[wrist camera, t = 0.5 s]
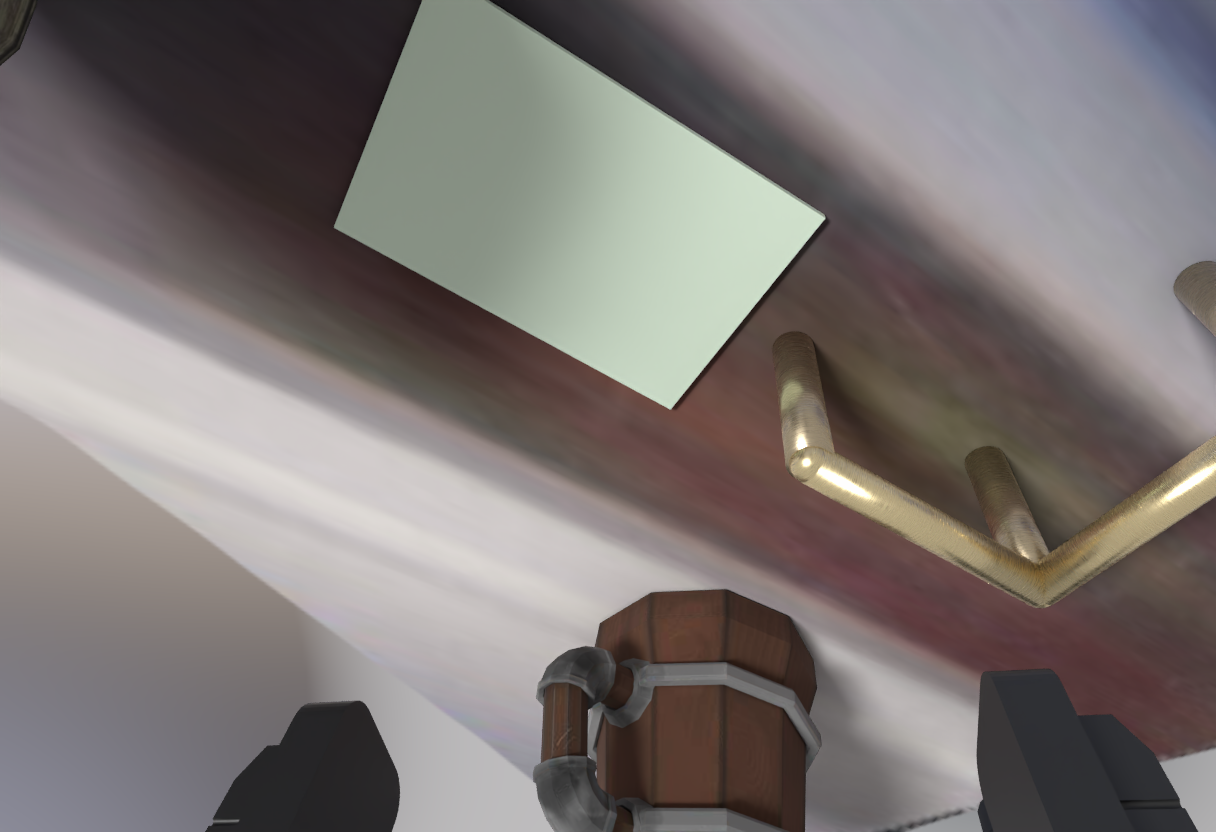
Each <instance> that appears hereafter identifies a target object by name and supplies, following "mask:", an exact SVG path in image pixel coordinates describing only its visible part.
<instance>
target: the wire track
mask: <svg viewBox="0 0 1216 832" xmlns="http://www.w3.org/2000/svg"><path fill="white" fill-rule="evenodd" d="M1174 293H1175V295H1176V296H1177V298H1178V299H1179V300H1180V301H1181V302H1182V303H1183V304H1184V305H1185V306H1186V307H1187V308H1188V309H1189V310H1190V311H1191V312H1192V313H1193V314H1194V315H1195V316H1196V317H1197V318H1198V319H1199V320H1200V321H1201V322H1202V323H1203V325H1204V326H1205V327H1206V328H1207V329H1208V330H1209V331H1210V332H1211V333H1212V334H1213V335H1214V336H1215V337H1216V262H1212V261H1204V262H1199V263H1196V264H1193V265H1191V266H1189V267H1188V268H1186V269H1185V270H1184V271H1183V272H1182V273H1181V274H1180V275H1179V276H1178V277H1177V279H1176V281H1175V283H1174ZM772 351H773V360H774V368H775V377H776V386H777V394H778V403H779V411H780V420H781V429H782V437H783V446H784V454H785V463H786V469H787V471H788V472H789V474H790V475H791V476H793V477H794V478H796V479H797V480H798V481H800V482H802V483H803V484H805V485H807V486H809V487H811V488H813V489H815V490H816V491H818V492H820V493H822V494H824V495H826V496H828V497H829V498H831V499H833V500H835V501H837V502H839V503H840V504H842V505H844V506H846V507H848V508H850V509H852V510H853V511H855V512H857V513H859V514H861V515H863V516H865V517H866V518H868V519H870V520H872V521H874V522H876V523H878V524H879V525H881V526H883V527H885V528H887V529H889V530H891V531H892V532H894V533H896V534H898V535H900V536H902V537H903V538H905V539H907V540H909V541H911V542H913V543H915V544H916V545H918V546H920V547H922V548H924V549H926V550H928V551H929V552H931V553H933V554H935V555H937V556H939V557H941V558H942V559H944V560H946V561H948V562H950V563H952V564H954V565H955V566H957V567H959V568H961V569H963V570H965V571H966V572H968V573H970V574H972V575H974V576H976V577H978V578H979V579H981V580H983V581H985V582H987V583H989V584H991V585H992V586H994V587H996V588H998V589H1000V590H1002V591H1004V592H1005V593H1007V594H1009V595H1011V596H1013V597H1015V598H1017V599H1018V600H1020V601H1022V602H1024V603H1026V604H1028V605H1030V606H1032V607H1035V608H1047V607H1050V606H1051V605H1053V604H1055V603H1056V602H1058V601H1059V600H1061V599H1062V598H1064V597H1065V596H1067V595H1068V594H1070V593H1071V592H1073V591H1074V590H1076V589H1077V588H1079V587H1080V586H1082V585H1083V584H1085V583H1086V582H1088V581H1089V580H1091V579H1092V578H1094V577H1095V576H1097V575H1098V574H1100V573H1101V572H1103V571H1104V570H1106V569H1107V568H1109V567H1110V566H1112V565H1113V564H1115V563H1117V562H1118V561H1120V560H1121V559H1123V558H1124V557H1126V556H1127V555H1129V554H1130V553H1132V552H1133V551H1135V550H1136V549H1138V548H1139V547H1141V546H1142V545H1144V544H1145V543H1147V542H1148V541H1150V540H1151V539H1153V538H1154V537H1156V536H1157V535H1159V534H1160V533H1162V532H1163V531H1165V530H1166V529H1168V528H1169V527H1171V526H1172V525H1174V524H1175V523H1177V522H1178V521H1180V520H1181V519H1183V518H1184V517H1186V516H1187V515H1189V514H1190V513H1192V512H1193V511H1195V510H1196V509H1198V508H1199V507H1201V506H1202V505H1204V504H1205V503H1207V502H1208V501H1210V500H1211V499H1213V498H1214V497H1216V435H1215V436H1214V437H1212V438H1211V439H1210V440H1208V441H1207V442H1205V443H1204V444H1203V445H1201V446H1200V447H1198V448H1197V449H1196V450H1194V451H1193V452H1191V453H1190V454H1188V455H1187V456H1186V457H1184V458H1183V459H1181V460H1180V461H1179V462H1177V463H1176V464H1174V465H1173V466H1172V467H1170V468H1169V469H1167V470H1166V471H1165V472H1163V473H1162V474H1160V475H1159V476H1158V477H1156V478H1155V479H1153V480H1152V481H1150V482H1149V483H1148V484H1146V485H1145V486H1143V487H1142V488H1141V489H1139V490H1138V491H1136V492H1135V493H1134V494H1132V495H1131V496H1129V497H1128V498H1127V499H1125V500H1124V501H1122V502H1121V503H1120V504H1118V505H1117V506H1115V507H1114V508H1112V509H1111V510H1110V511H1108V512H1107V513H1105V514H1104V515H1103V516H1101V517H1100V518H1098V519H1097V520H1096V521H1094V522H1093V523H1091V524H1090V525H1089V526H1087V527H1086V528H1084V529H1083V530H1082V531H1080V532H1079V533H1077V534H1076V535H1074V536H1073V537H1072V538H1070V539H1069V540H1067V541H1066V542H1065V543H1063V544H1062V545H1060V546H1059V547H1058V548H1056V549H1055V550H1053V551H1052V552H1051V553H1049V551H1048V549H1047V546H1046V544H1045V542H1044V540H1043V538H1042V535H1041V533H1040V531H1039V529H1038V527H1037V525H1036V522H1035V520H1034V518H1033V516H1032V514H1031V512H1030V509H1029V507H1028V505H1027V503H1026V501H1025V498H1024V496H1023V494H1022V492H1021V490H1020V488H1019V485H1018V483H1017V481H1016V479H1015V477H1014V474H1013V472H1012V470H1011V468H1010V466H1009V464H1008V461H1007V459H1006V457H1005V455H1004V453H1003V452H1002V451H1001V450H1000V449H998V448H996V447H991V446H986V447H981V448H978V449H975V450H974V451H972V452H971V453H970V454H969V455H968V456H967V457H966V459H965V468H966V470H967V473H968V475H969V478H970V481H971V483H972V486H973V488H974V491H975V493H976V496H977V498H978V501H979V504H980V506H981V509H982V511H983V514H984V516H985V519H986V522H987V524H988V527H989V529H990V532H991V534H992V537H993V539H994V540H993V539H991V538H989V537H987V536H985V535H984V534H982V533H980V532H978V531H977V530H975V529H973V528H971V527H969V526H968V525H966V524H964V523H962V522H960V521H959V520H957V519H955V518H953V517H951V516H950V515H948V514H946V513H944V512H942V511H941V510H939V509H937V508H935V507H933V506H932V505H930V504H928V503H926V502H924V501H923V500H921V499H919V498H917V497H915V496H914V495H912V494H910V493H908V492H907V491H905V490H903V489H901V488H899V487H898V486H896V485H894V484H892V483H890V482H889V481H887V480H885V479H883V478H881V477H880V476H878V475H876V474H874V473H872V472H871V471H869V470H867V469H865V468H863V467H862V466H860V465H858V464H856V463H854V462H853V461H851V460H849V459H847V458H845V457H844V456H842V455H840V454H838V453H836V452H835V451H834V446H833V441H832V436H831V431H830V426H829V421H828V416H827V410H826V405H825V400H824V395H823V390H822V385H821V380H820V375H819V369H818V364H817V359H816V354H815V349H814V344H813V341H812V340H811V338H810V337H809V336H807V335H806V334H804V333H801V332H788V333H785V334H783V335H781V336H780V337H779V338H778V339H777V340H776V341H775V343H774V345H773V349H772Z"/></svg>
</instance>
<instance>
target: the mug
mask: <svg viewBox="0 0 1216 832" xmlns="http://www.w3.org/2000/svg"><path fill="white" fill-rule="evenodd" d="M816 689H817V685H816V677H815V669H814V661H813V659H812V657H811V655H810V654H809V652H808V650H807V648H806V646H805V645H804V643H803V641H802V639H801V638H800V636H799V634H798V632H797V630H796V629H795V627H794V625H793V623H792V622H791V620H790V618H789V617H788V616H786V615H784V614H781V613H779V612H776V611H774V610H772V609H769V608H767V607H765V606H762V605H760V604H758V603H755V602H753V601H751V600H748V599H746V598H744V597H741V596H739V595H737V594H734V593H732V592H730V591H727V590H704V591H680V592H655V593H650V594H648V595H646V596H645V597H643V598H641V599H640V600H638V601H636V602H635V603H633V604H631V605H630V606H628V607H626V608H625V609H623V610H621V611H620V612H618V613H616V614H615V615H613V616H611V617H610V618H608V619H606V620H605V621H603V622H601V623H600V626H599V630H598V635H597V639H596V644H595V647H588V646H584V647H580V648H576V649H571V650H568V651H567V652H565V653H564V654H562V655H560V656H559V657H557V658H556V659H555V660H554V661H553V662H552V663H551V664H550V665H549V666H548V667H547V668H546V671H545V673H544V675H543V678H542V680H541V681H540V682H539V683H538V688H537V695H536V699H537V700H538V701H539V702H540V703H541V704H542V705H543V706H544V708H543V729H542V750H541V763H540V764H538V765H536V766H535V767H534V771H533V782H535V783H536V786H537V793H538V799H539V802H540V804H541V807H542V809H543V812H544V815H545V817H546V819H547V821H548V822H549V824H550V825H551V827H552V829H553V830H554V831H555V832H805V784H806V772H807V770H808V769H809V767H810V765H811V763H812V761H813V760H814V758H815V756H816V754H817V752H818V751H819V749H820V747H821V736H820V733H819V732H818V730H817V728H816V727H815V725H814V723H813V722H812V720H811V718H810V717H809V713H810V710H811V707H812V703H813V700H814V696H815V693H816ZM589 709H590V712H589V716H588V710H589ZM588 755H589V756H590V757H591V758H592V759H590V758H588V757H587V756H588ZM596 764H597V768H596ZM596 769H597V779H596V776H595V771H596Z"/></svg>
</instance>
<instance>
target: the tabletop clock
mask: <svg viewBox="0 0 1216 832" xmlns="http://www.w3.org/2000/svg"><path fill="white" fill-rule="evenodd" d="M37 1H38V0H0V66H1V65H2V64H3V63H4V62H5V61H6V60H7V59H9V58H10V57H11V56H12V55H13V54H14V53H16V52H17V51H18V50H19V49H20V47H21V44H22V41H23V39H24V36H25V34H26V31H27V28H28V26H29V23H30V21H31V18H32V15H33V13H34V10H35V8H36V4H37Z"/></svg>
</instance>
